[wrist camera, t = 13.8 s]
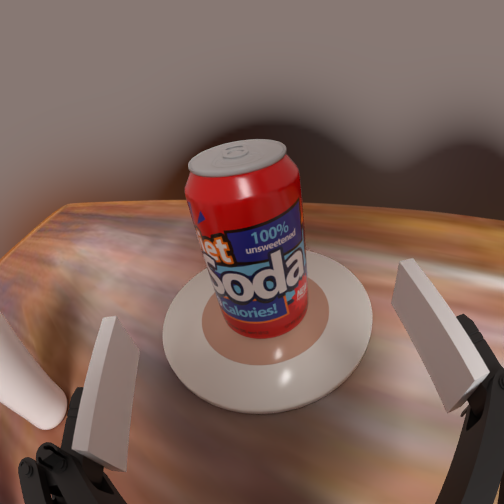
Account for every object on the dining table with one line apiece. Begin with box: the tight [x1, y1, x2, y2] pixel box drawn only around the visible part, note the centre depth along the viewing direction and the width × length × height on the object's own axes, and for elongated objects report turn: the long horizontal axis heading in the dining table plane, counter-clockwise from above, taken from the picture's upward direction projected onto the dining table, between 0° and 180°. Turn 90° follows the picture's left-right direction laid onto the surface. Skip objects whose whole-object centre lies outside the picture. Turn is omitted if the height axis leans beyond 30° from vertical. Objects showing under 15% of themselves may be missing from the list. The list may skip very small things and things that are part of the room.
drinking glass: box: [0, 311, 67, 430], centre depth 17 cm, size 7×7×15 cm
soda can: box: [185, 139, 308, 339], centre depth 23 cm, size 8×8×15 cm
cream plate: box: [162, 250, 372, 414], centre depth 28 cm, size 20×20×1 cm
